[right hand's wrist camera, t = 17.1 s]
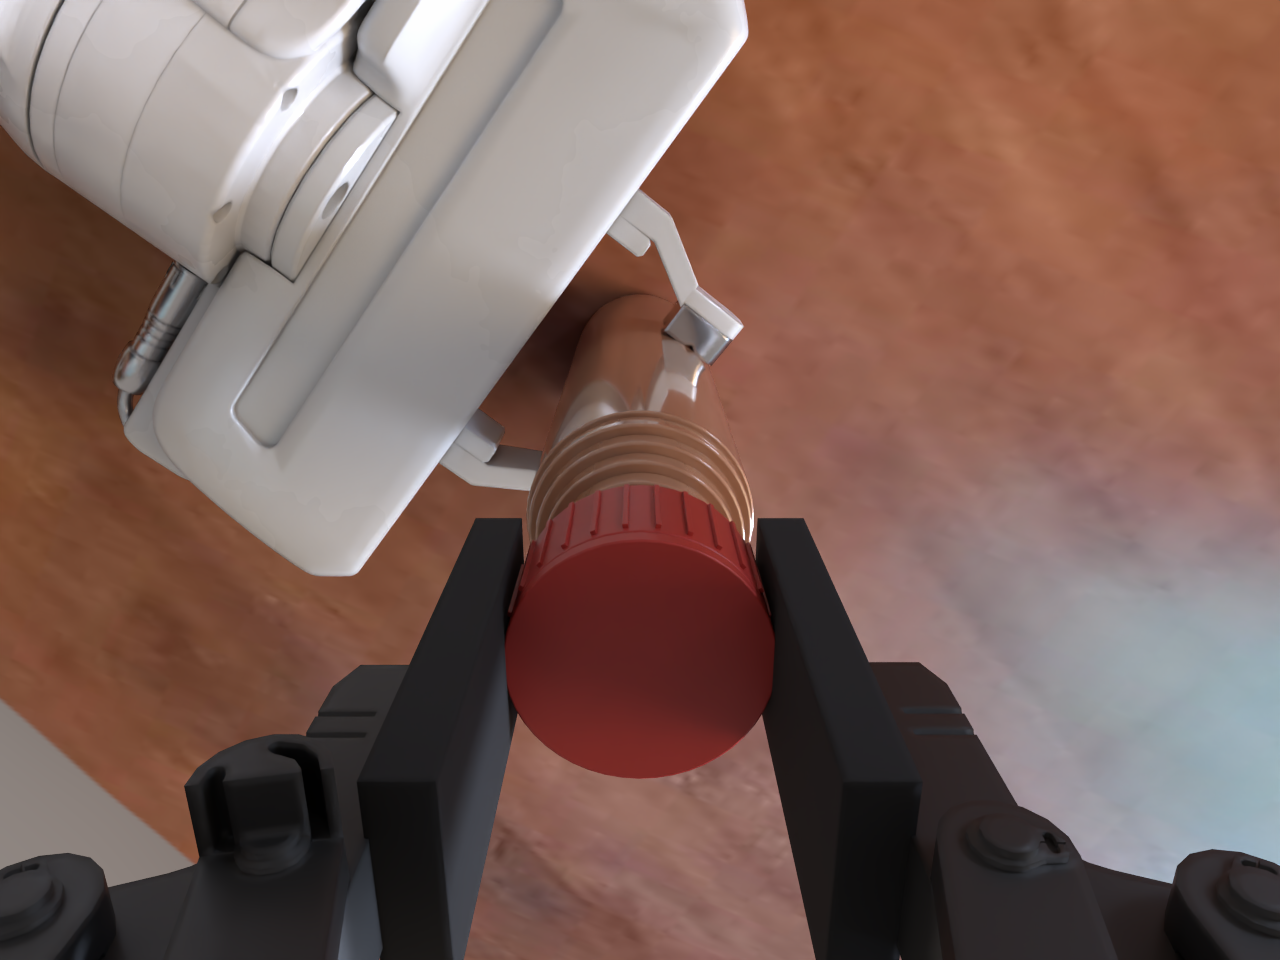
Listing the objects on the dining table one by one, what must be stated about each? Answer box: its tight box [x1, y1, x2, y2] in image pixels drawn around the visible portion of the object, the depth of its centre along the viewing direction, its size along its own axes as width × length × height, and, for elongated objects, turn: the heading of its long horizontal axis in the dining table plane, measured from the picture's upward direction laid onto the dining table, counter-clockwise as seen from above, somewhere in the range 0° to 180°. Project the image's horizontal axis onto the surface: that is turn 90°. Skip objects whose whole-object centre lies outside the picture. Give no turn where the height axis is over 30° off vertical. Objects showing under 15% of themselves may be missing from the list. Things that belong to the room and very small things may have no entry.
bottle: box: [526, 294, 754, 543], centre depth 23 cm, size 5×5×20 cm
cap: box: [505, 484, 775, 779], centre depth 14 cm, size 4×4×2 cm
